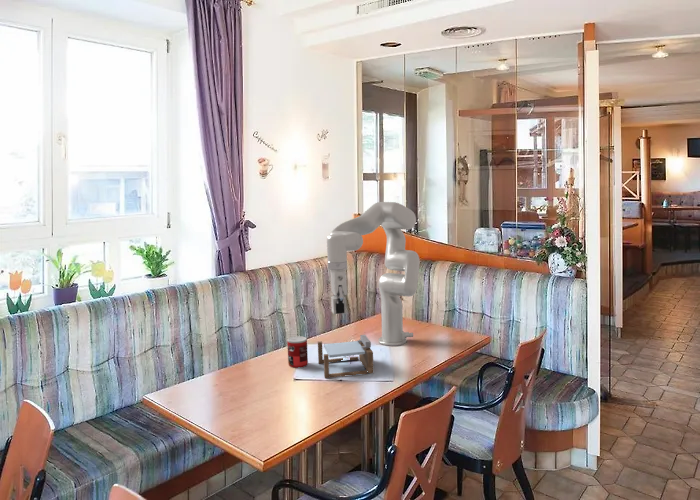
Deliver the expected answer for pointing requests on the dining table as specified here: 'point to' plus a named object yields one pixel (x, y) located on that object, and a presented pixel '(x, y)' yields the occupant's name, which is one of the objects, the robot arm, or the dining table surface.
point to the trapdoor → (348, 347)
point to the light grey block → (333, 304)
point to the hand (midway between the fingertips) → (338, 310)
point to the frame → (364, 358)
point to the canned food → (297, 351)
